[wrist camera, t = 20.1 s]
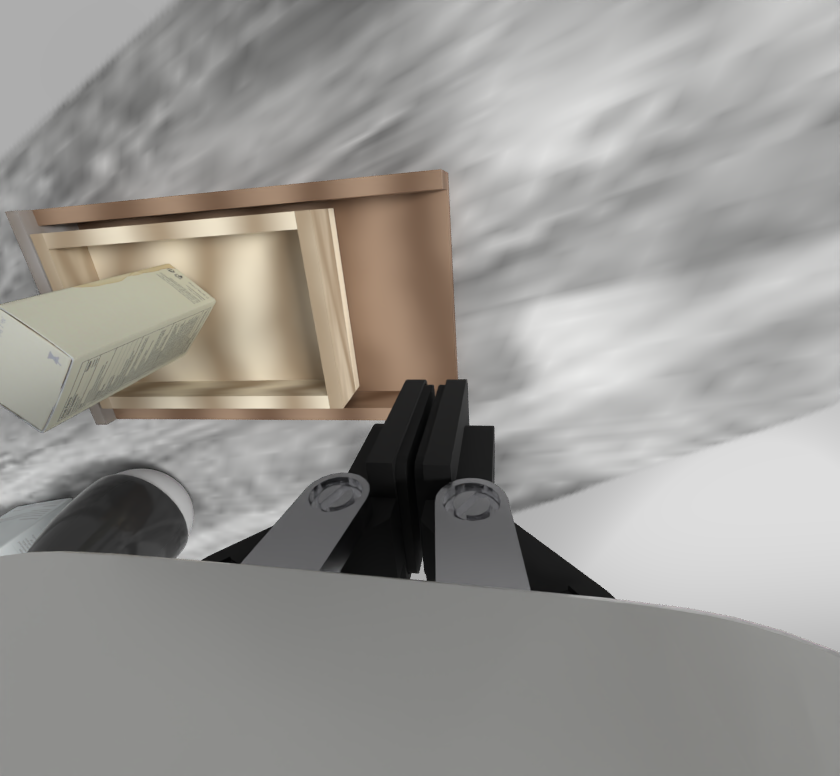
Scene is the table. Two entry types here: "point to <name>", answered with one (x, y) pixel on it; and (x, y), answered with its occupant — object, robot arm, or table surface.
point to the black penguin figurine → (123, 517)
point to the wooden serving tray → (361, 264)
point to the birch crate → (233, 307)
